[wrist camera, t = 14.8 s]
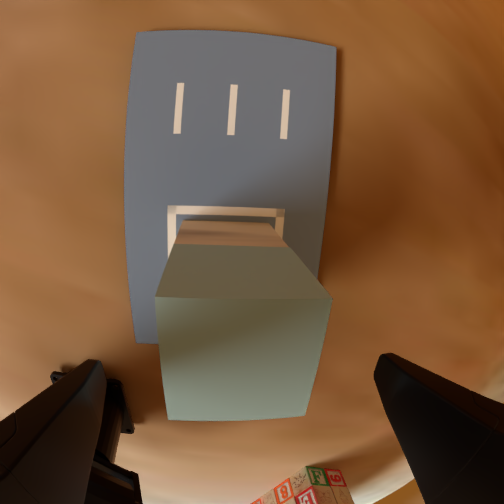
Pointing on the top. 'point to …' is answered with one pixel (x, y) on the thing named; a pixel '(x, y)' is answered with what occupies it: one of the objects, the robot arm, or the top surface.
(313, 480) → the stack of blocks
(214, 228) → the maple block
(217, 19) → the top surface
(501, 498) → the robot arm
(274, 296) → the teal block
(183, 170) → the blueprint board
